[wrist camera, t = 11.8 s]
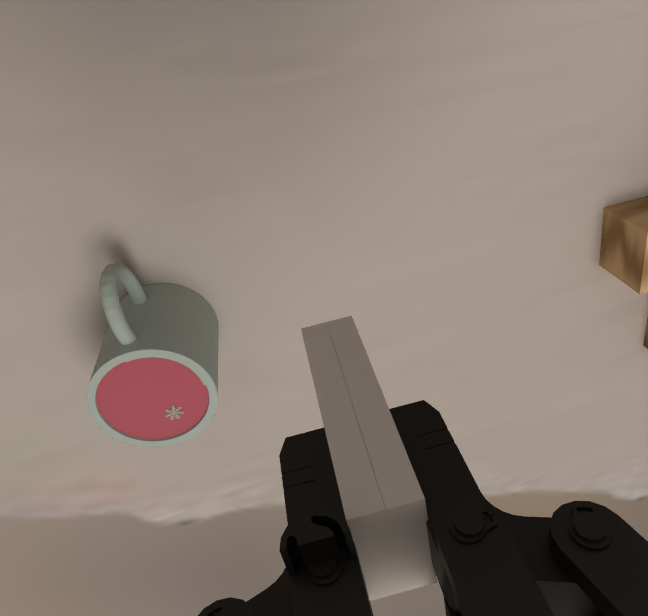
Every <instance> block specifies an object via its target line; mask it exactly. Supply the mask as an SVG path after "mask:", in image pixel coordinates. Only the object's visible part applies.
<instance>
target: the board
mask: <svg viewBox="0 0 648 616" xmlns="http://www.w3.org/2000/svg"><path fill="white" fill-rule="evenodd" d="M644 346H645V347H646V348H647V349H648V320H647V327H646V333H645V340H644Z"/></svg>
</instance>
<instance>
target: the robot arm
mask: <svg viewBox="0 0 648 616" xmlns="http://www.w3.org/2000/svg"><path fill="white" fill-rule="evenodd" d="M301 330H302V335H303V339H304V343H305V347H306V352H307V356H308V360H309V364H310V369H311V373H312V377H313V381H314V386H315V390H316V394H317V398H318V403H319V407H320V411H321V415H322V420H323V424H324V428H321V429H317V430H313V431H310V432H306V433H302V434H298V435H294V436H291V437H287V438H285V441H284V444H283V447H282V450H281V452H280V455H279V456H280V464H281V472H282V481H283V488H284V497H285V505H286V513H287V521H288V526H287V528H286V529H285V531H284V533H283V535H282V537H281V542H280V553H281V555H282V558H283V560H284V563H285V566H286V568H285V570H284V572H283V574H282V575H281V576H280V577H279V578H278V579H277V581H276V582H275V583H273V584H272V585H271V586H270V587H268V588H267V589H266V590H264V591H263V592H261V593H260V594H258V595H256V596H255V597H253V598H252V599H250V600H249V601H247V602H245V601H244V600H241V599H236V598H231V597H230V598H226V599H222V600H217V601H216V602H214V603H212V604H211V605H209V606H207V607H206V608H204V609H203V610H202V612H201V613H200V614H199V615H198V616H373V612H372V608H371V604H370V601H372V600H375V599H379V598H382V597H386V596H390V595H393V594H397V593H400V592H404V591H408V590H411V589H415V588H419V587H422V586H426V585H429V584H433V583H436V582H437V580H436V576H437V579H438V581H439V584H440V587H441V589H442V592H443V595H444V602H445V609H446V616H648V541H646V540H645V539H644V538H643V537H642V536H641V535H640V534H638V533H637V532H636V531H635V530H634V529H633V528H632V527H631V526H630V525H628V524H627V523H626V522H625V521H624V520H623V519H622V518H621V517H619V516H618V515H617V514H616V513H614V512H612V511H611V510H609V509H608V508H606V507H605V506H602V505H599V504H596V503H593V502H590V501H573V502H570V503H567V504H564V505H561V506H560V507H559V508H558V509H557V510H556V511H555V512H554V513H553V516H552V518H548V517H523V516H516V515H512V514H509V513H506V512H503V511H501V510H499V509H498V508H496V507H494V506H493V505H492V504H490V503H489V502H488V501H487V500H486V499H485V498H484V496H483V495H482V493H481V492H480V490H479V488H478V486H477V484H476V482H475V480H474V478H473V476H472V474H471V473H470V471H469V469H468V467H467V465H466V463H465V461H464V459H463V457H462V455H461V453H460V451H459V449H458V447H457V446H456V444H455V443H454V440H453V438H452V436H451V434H450V432H449V431H448V429H447V426H446V424H445V422H444V420H443V418H442V417H441V415H440V413H439V411H437V410H436V409H435V408H433V407H432V406H431V405H430V404H428V403H427V402H426V401H424V400H422V401H418V402H415V403H411V404H407V405H403V406H399V407H396V408H392V409H389V408H388V405H387V403H386V400H385V398H384V395H383V393H382V390H381V388H380V385H379V383H378V380H377V378H376V375H375V373H374V370H373V368H372V365H371V363H370V360H369V358H368V355H367V353H366V350H365V348H364V345H363V343H362V340H361V338H360V335H359V333H358V331H357V328H356V326H355V323H354V321H353V318H352V316H349V317H345V318H341V319H337V320H333V321H329V322H325V323H321V324H317V325H313V326H310V327H306V328H302V329H301Z"/></svg>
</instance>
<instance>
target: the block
mask: <svg viewBox="0 0 648 616" xmlns="http://www.w3.org/2000/svg"><path fill="white" fill-rule="evenodd" d="M599 265H600V266H602V267H603V268H604V269H606V270H607V271H608V272H610V273H611V274H613V275H614V276H615V277H617V278H618V279H620V280H621V281H622V282H624V283H625V284H627V285H628V286H629V287H631V288H632V289H633V290H635V291H636V292H638V293H639V294H642V293H645V292H648V196H647V197H643V198H640V199H636V200H632V201H628V202H624V203H620V204H617V205H613V206H609V207H605V208H604V213H603V225H602V238H601V250H600V263H599Z"/></svg>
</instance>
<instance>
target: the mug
mask: <svg viewBox="0 0 648 616" xmlns="http://www.w3.org/2000/svg"><path fill="white" fill-rule="evenodd" d="M117 280H119V281H120V282H121V283H122V284H123V285H124V287H125V288H126V290H127V292H128V294H127V295H126V296H125V297H124V298H123V299H122V300H121V301H120V300H119V296H118V290H117ZM100 295H101V302H102V305H103V309H104V313H105V315H106V318H107V321H108V323H109V326H108V329H107V332H106V335H105V338H104V341H103V344H102V347H101V350H100V353H99V356H98V359H97V361H96V364H95V367H94V370H93V373H92V376H91V379H90V382H89V385H88V388H87V394H86V402H87V407H88V411H89V413H90V415H91V417H92V419H93V420H94V422H95V423H96V424H97V425H98V426H99V427H100V428H101V429H102V430H103V431H104V432H105V433H107V434H108V435H110V436H112V437H113V438H115V439H117V440H119V441H122V442H124V443H128V444H131V445H136V446H142V447H163V446H169V445H174V444H178V443H180V442H183V441H186V440H188V439H190V438H192V437H193V436H195V435H196V434H198V433H199V432H201V431H202V430H203V429H204V428H205V427H206V426H207V425H208V424H209V422H210V421H211V419H212V418H213V416H214V414H215V411H216V407H217V401H218V320H217V317H216V314H215V312H214V310H213V308H212V307H211V305H210V304H209V303H208V302H207V301H206V300H205V299H204V298H203V297H202V296H201V295H199V294H198V293H196V292H195V291H193V290H191V289H189V288H186V287H183V286H180V285H176V284H168V283H157V284H150V285H146V286H143V287H142V286H141V284H140V282H139V281H138V279H137V278H136V276H135V275H134V274H133V272H132V271H131V270H130V269H129V268H127V267H126V266H125V265H122V264H120V263H113V264H109V265H107V266H106V267H105V269H104V270H103V272H102V274H101V278H100Z"/></svg>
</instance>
